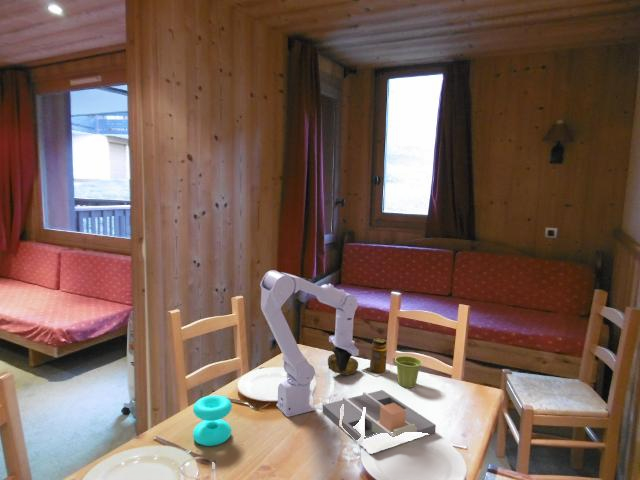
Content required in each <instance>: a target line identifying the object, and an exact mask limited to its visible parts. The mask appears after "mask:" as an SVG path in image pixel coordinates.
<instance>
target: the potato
mask: <svg viewBox="0 0 640 480" xmlns="http://www.w3.org/2000/svg"><path fill="white" fill-rule="evenodd" d="M327 365H328V370H330V371H332V372H334V373H337V374H340V375H342V376H348V375H349V376H350V375H353V374H354V373H355V372H357V370H358V368H359V362H358V360H357V359H355V358H353V357H352V356H351V357H350V359H349V361H348V364H347V367H346V370H344V371H340V370H338V365H337V360H336V357H335V354H334V353H332V354H331V355H329V356H328V358H327Z"/></svg>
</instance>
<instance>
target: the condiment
mask: <svg viewBox="0 0 640 480" xmlns="http://www.w3.org/2000/svg"><path fill="white" fill-rule="evenodd" d="M387 352H388V348H387V340H386V339H385V338H380V337H379V338H373V339H372V344H371V346H370V357H369V358H370V361H369V366H368V367H365V368H363V369H361V371H363V372H364V373H367V374H369V375H372V376H374V377H376V378H377V377H379V376H382V375H385V374H386V373H389V372H390V371H391V370H389V369H387Z"/></svg>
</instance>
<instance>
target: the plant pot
mask: <svg viewBox="0 0 640 480" xmlns="http://www.w3.org/2000/svg"><path fill="white" fill-rule="evenodd" d="M394 362H395V364H396V373H397V382H398V385H400V386H401V387H404V388H414V387H416V385H417V380H418V376H419V371H420V368H421V366H422V365H423V361H422V360H421V359H420V358H418V357H417V358H416V357H415V356H414V357H413V356H408V355H400V356H396V357H395V359H394Z"/></svg>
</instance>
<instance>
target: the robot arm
mask: <svg viewBox="0 0 640 480" xmlns="http://www.w3.org/2000/svg"><path fill="white" fill-rule="evenodd" d="M259 286H260V290H261V292H260V293H261V294H260V295H261V296H260V310H261V312H262V314H263V316H264V318H265V319H266V322H267V324H268V326H269V329H270V330H271V333H272V335H273V337H274V339H275V341H276V343H277V344H278V347H279V349H280V351H281V353H282V357H281V358H282V361H283V369H284V371H285V373H286V380H285V381H283V382H281V383H279V385H278V387H277V403H276V407H277V408H278V409H279V410H280V412H281V413H283V414H284V416H285V417H287V418H289V417H294V416H297V415H300V414H304V413H308V412H313V411H316V410H315V409H316V408H315V407H313V405H311V403H310V397H311V396H310V394H311V393H310V392H311V382H312V381H313V380H314V377H315V376H316V370H315V367H314V366H313V365H312V364H310V363H309V361H308V360H307V358H306V357H305V355H304V354H303V353H302V351H301V349H300V348H299V345H298V344H297V341H296V339H295V337H294V335H293V332H292V330H291V328H290V326H289V324H288V322H287V319H286V317H285V315H284V313H283V311H282V307H283V305H284V303H286V302H287V300H288V299H289V298H290V296H291V295H293V293H294V294H296V293H298V292H299V291H301V292H305V293H307V294H311V295H314V296H316V299H317V301H318V302H319V303H322V304H325V305H328V306H330V307H332V308H335V327H334V328H335V331H334V335H330V336H329V337H328V342H329V343H332V344H333V345H334V347H332V352H333V354H335V357H336V360H337V365H338V370H340V371H344V370H346V367H347V364H348V361H349V359H350V357H351V358H352V357H357V356H359V355H360V353H359V352H360V349H359V348H357V346H355V343H356V342H355V340H353V335H354V334H353V333H354V318H355V317H354V316H355V314H356V313H355V312H356V311H357V309H358V306H359V302H358V300H357V297H356V296H355V295H354V294H351V293H348V292H346V290H344V289H341V288H340V289H338V288H337V287H335V285H334V284H331V283H328V284H327V283H325V284H322V285H317V284H316V283H313V282H311V281H308V280H306V279H304V278H302V277H300V276H296V275H294V274H291V273H287V272H283V271H281V272H280V271H277V270H275V269H272V270H269V271H267V272H266V273H265V274H264V276H263V277H262V280H261V281H260V284H259Z"/></svg>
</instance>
